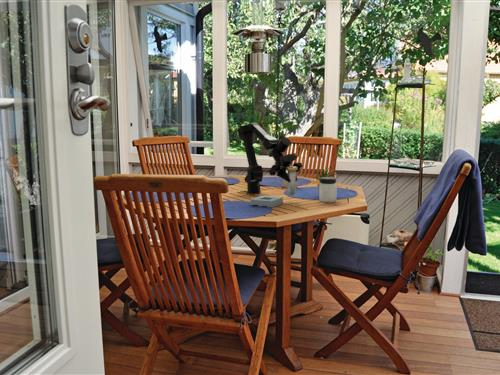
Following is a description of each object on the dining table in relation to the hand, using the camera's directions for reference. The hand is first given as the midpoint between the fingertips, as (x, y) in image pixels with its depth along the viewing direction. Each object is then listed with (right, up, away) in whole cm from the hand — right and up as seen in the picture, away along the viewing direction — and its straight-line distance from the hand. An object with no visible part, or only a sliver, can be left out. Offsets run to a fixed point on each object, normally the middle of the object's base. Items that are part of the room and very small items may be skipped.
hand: (293, 181), depth 243 cm
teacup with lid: (+1, -3, +48) cm, 48 cm away
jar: (+18, -10, +4) cm, 21 cm away
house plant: (+18, -8, +17) cm, 26 cm away
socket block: (-14, -11, -4) cm, 18 cm away
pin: (-1, -6, +2) cm, 7 cm away
